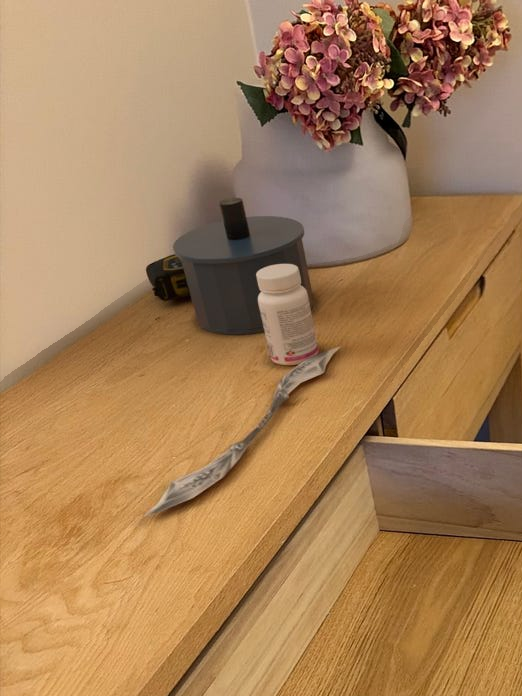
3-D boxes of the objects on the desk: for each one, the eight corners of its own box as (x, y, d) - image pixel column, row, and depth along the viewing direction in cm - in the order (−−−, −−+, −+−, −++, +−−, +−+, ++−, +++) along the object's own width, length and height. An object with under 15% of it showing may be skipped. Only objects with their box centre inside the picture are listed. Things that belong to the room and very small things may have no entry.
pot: (177, 316, 108) (157, 246, 104) (273, 282, 114) (258, 215, 110) (236, 344, 101) (217, 271, 96) (335, 306, 107) (323, 235, 102)
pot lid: (152, 253, 104) (139, 207, 101) (261, 218, 110) (252, 175, 108) (217, 279, 96) (205, 231, 93) (331, 241, 102) (323, 194, 99)
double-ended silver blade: (139, 519, 75) (196, 524, 74) (136, 512, 75) (194, 517, 73) (302, 347, 98) (348, 348, 97) (301, 341, 98) (347, 342, 97)
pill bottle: (327, 348, 98) (311, 262, 93) (305, 368, 95) (287, 280, 89) (285, 345, 100) (267, 261, 94) (262, 365, 96) (242, 278, 91)
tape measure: (151, 291, 115) (141, 258, 113) (208, 279, 117) (200, 246, 115) (158, 309, 110) (148, 276, 108) (218, 296, 112) (210, 263, 110)
